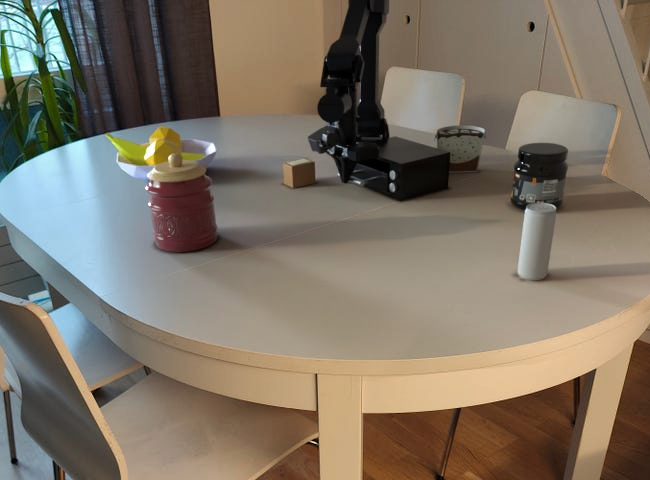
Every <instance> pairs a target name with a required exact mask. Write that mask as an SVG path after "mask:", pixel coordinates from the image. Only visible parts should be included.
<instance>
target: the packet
mask: <svg viewBox="0 0 650 480" xmlns="http://www.w3.org/2000/svg"><path fill="white" fill-rule="evenodd" d="M282 173H283V184H284V185H285V186H288V187H290V188H292V189H296V188H301V187H305V186H308V185H312V184H316V183H317V182H316V161H314V160H312V159H309V158H306V157H303V158H299V159H295V160H291V161H286V162H283V163H282Z"/></svg>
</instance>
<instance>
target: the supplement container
mask: <svg viewBox="0 0 650 480" xmlns="http://www.w3.org/2000/svg"><path fill="white" fill-rule="evenodd" d="M568 153H569V149H568V148H567V147H566V146H565V145H562V144H559V143H553V142H531V143H526V144H523V145H520V146H519V147H518V151H517V159H518V160H517V161H515V163H514V165H513V178H512V187H511V195H510V203H511V205H512V206H513V207H514V208H516V209H518V210H519V211H524V212H525V210H526V207H527V205H529V204H532V203H548V204H552V205H554V206H555V207H556V210H557V209H559V208H560V207H561V206H562V205H563V201H564V193H565V186H566V181H567V173H568V170H569V164H568V162H567V161H566V160H567V159H568Z"/></svg>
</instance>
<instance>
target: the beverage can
mask: <svg viewBox="0 0 650 480" xmlns="http://www.w3.org/2000/svg"><path fill="white" fill-rule="evenodd" d="M523 218H524V219H523V224H522V232H521V239H520V240H521V241H520V248H519V255H518V256H519V257H518V263H517V265H518V266H517V274H518V276H519V277H520V278H521V279H523V280H526V281H541V280H543V279H544V278H546V276H547V275H548V271H549V264H550V259H551V251H552V246H553V238H554V231H555V226H556V225H555V224H556V219H557V209H556V207H555V206H554V205H552V204H548V203H532V204H529V205H527V207H526V210H525V211H524V216H523Z"/></svg>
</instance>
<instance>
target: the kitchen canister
mask: <svg viewBox="0 0 650 480" xmlns="http://www.w3.org/2000/svg"><path fill="white" fill-rule="evenodd" d="M206 173H207V168H205V167H204V166H202V165H200V164H198V163H197V162H195V161H192V160H182V157H181V156H180V155H179V154H177V153H174V154H171V155H170V157H169V161H168V162H164V163H161V164H158V165H157V166H155V167H154V169H153V170H151V171H150V172H149V173H148V178H149V179H151V180H149V181H148V183H146V184H145V191H146V192H147V193H148V194H149V201H148V204H147V206H148V208H149V211H150V219H151V224H152V228H153V232H152V235H153V239H154V241H155V244H156V247H158V248H159V249H160V250H163V251H165V252H166V251H167V252H173V253H185V252H193V251H199V250H201V249H202V250H203V249H205V248H208V247H209V246H212V245H213V244H214V243H215V242H216V241H217V239H218V234H219V229H218V224H217V218H216V210H215V201H214V200H215V196H214V194H213V193H212V190H211V186H212V184H213V180H212V178H211V177H210V176H208V175H206Z"/></svg>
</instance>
